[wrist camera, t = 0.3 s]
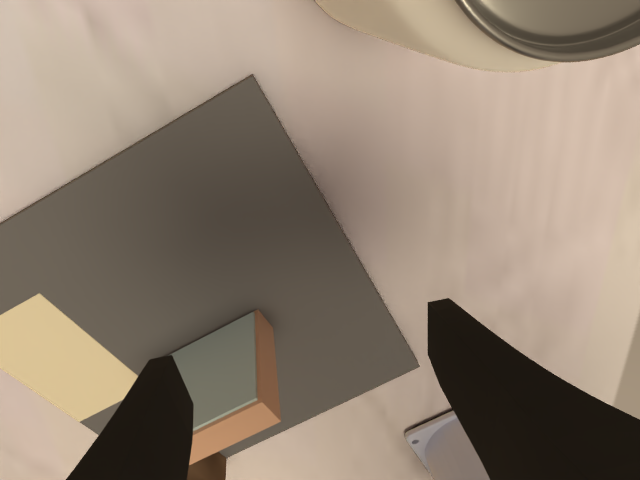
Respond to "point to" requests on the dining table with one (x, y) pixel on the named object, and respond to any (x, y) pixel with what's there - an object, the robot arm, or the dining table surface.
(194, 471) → the block
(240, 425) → the tile
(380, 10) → the can
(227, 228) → the mat
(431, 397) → the dining table surface
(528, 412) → the robot arm
